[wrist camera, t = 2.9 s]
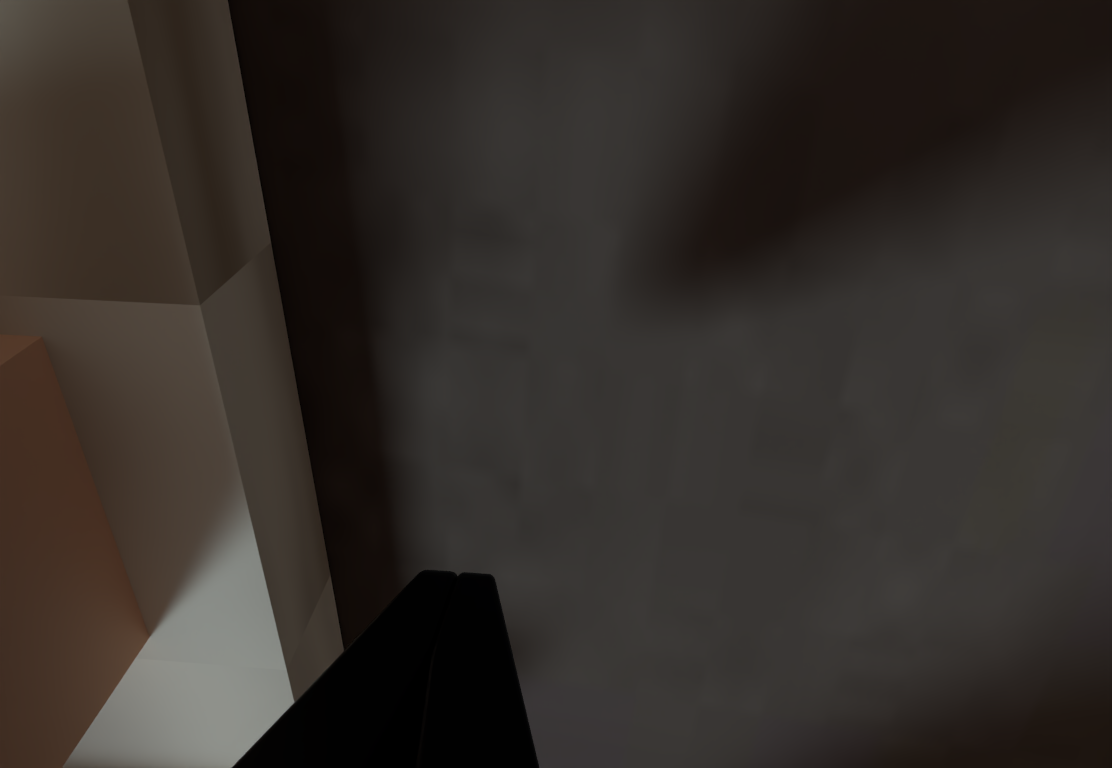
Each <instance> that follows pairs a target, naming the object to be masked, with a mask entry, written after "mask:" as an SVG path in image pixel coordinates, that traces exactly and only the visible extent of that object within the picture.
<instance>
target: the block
mask: <svg viewBox="0 0 1112 768" xmlns="http://www.w3.org/2000/svg"><path fill="white" fill-rule="evenodd" d="M149 638H150V637H149V634H148V631H147V628H146V626H145V623H144V620H143V617H142V614H141V612H140V609H139V606H138V603H137V600H136V598H135V595H134V592H133V589H132V587H131V584H130V581H129V578H128V575H127V573H126V570H125V567H124V564H123V561H122V559H121V556H120V553H119V550H118V548H117V545H116V542H115V539H114V536H113V534H112V531H111V528H110V525H109V522H108V520H107V517H106V514H105V511H104V509H103V506H102V503H101V500H100V497H99V495H98V492H97V489H96V486H95V483H94V481H93V478H92V475H91V472H90V470H89V467H88V464H87V461H86V458H85V456H84V453H83V450H82V447H81V444H80V442H79V439H78V436H77V433H76V431H75V428H74V425H73V422H72V419H71V417H70V414H69V411H68V408H67V405H66V403H65V400H64V397H63V394H62V391H61V389H60V386H59V383H58V380H57V378H56V375H55V372H54V369H53V366H52V364H51V361H50V358H49V355H48V352H47V350H46V347H45V344H44V341H43V339H42V337H41V336H22V335H3V334H0V768H62V767H63V766H64V764H65V763H66V761H67V760H68V758H69V757H70V755H71V754H72V752H73V751H74V749H75V748H76V746H77V745H78V743H79V742H80V740H81V739H82V737H83V736H84V734H85V733H86V731H87V730H88V728H89V727H90V725H91V724H92V722H93V721H94V719H95V718H96V716H97V715H98V713H99V712H100V710H101V709H102V707H103V706H104V704H105V703H106V702H107V700H108V699H109V697H110V696H111V694H112V693H113V691H114V690H115V688H116V687H117V685H118V684H119V682H120V681H121V679H122V678H123V676H124V675H125V673H126V672H127V670H128V669H129V667H130V666H131V664H132V663H133V661H134V660H135V658H136V657H137V655H138V654H139V652H140V651H141V649H142V648H143V646H144V645H145V643H146V642H147V640H148V639H149Z"/></svg>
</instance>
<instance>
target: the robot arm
mask: <svg viewBox="0 0 1112 768" xmlns="http://www.w3.org/2000/svg"><path fill="white" fill-rule="evenodd" d="M232 768H539V764H538V760H537V756H536V752H535V747H534V743H533V739H532V735H531V730H530V726H529V722H528V718H527V713H526V709H525V705H524V701H523V696H522V692H521V688H520V684H519V679H518V675H517V671H516V667H515V662H514V658H513V654H512V650H511V645H510V641H509V637H508V633H507V628H506V624H505V620H504V616H503V611H502V607H501V603H500V599H499V594H498V590H497V586H496V582H495V578H494V577H493V576H492V575H491V574H481V573H467V572H464V573H461V574H460V575H459V576H457V574H455V573H454V572H451V571H437V570H424V571H422V572H420V573H419V574H418V575H417V576H416V577H415V578H414V579H413V580H412V581H411V582H410V583H409V584H408V585H407V586H406V587H405V588H404V589H403V590H402V591H401V592H400V593H399V594H398V595H397V596H396V597H395V598H394V599H393V600H392V601H391V603H390V604H389V605H388V606H387V607H386V608H385V609H384V610H383V611H382V612H381V613H380V614H379V615H378V616H377V617H376V618H375V619H374V620H373V621H372V622H371V623H370V624H369V625H368V626H367V627H366V628H365V630H364V631H363V632H362V633H361V634H360V635H359V636H358V637H357V638H356V639H355V640H354V641H353V642H352V643H351V644H350V645H349V646H348V647H347V648H346V649H345V650H344V651H343V652H342V653H341V654H340V655H339V657H338V658H337V659H336V660H335V661H334V662H333V663H332V664H331V665H330V666H329V667H328V668H327V669H326V670H325V671H324V672H323V673H322V674H321V675H320V676H319V677H318V678H317V679H316V680H315V681H314V682H313V684H312V685H311V686H310V687H309V688H308V689H307V690H306V691H305V692H304V693H303V694H302V695H301V696H300V697H299V698H298V699H297V700H296V701H295V702H294V703H293V704H292V705H291V706H290V707H289V708H288V709H287V711H286V712H285V713H284V714H283V715H282V716H281V717H280V718H279V719H278V720H277V721H276V722H275V723H274V724H273V725H272V726H271V727H270V728H269V729H268V730H267V731H266V732H265V733H264V734H263V735H262V737H261V738H260V739H259V740H258V741H257V742H256V743H255V744H254V745H253V746H252V747H251V748H250V749H249V750H248V751H247V752H246V753H245V754H244V755H243V756H242V757H241V758H240V759H239V760H238V761H237V762H236V764H235V765H234V766H233V767H232Z"/></svg>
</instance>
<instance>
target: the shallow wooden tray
mask: <svg viewBox="0 0 1112 768" xmlns="http://www.w3.org/2000/svg"><path fill="white" fill-rule="evenodd" d="M0 334H3V335H22V336H41V337H42V339H43V341H44V344H45V347H46V350H47V352H48V355H49V358H50V361H51V364H52V366H53V369H54V372H55V375H56V378H57V380H58V383H59V386H60V389H61V391H62V394H63V397H64V400H65V403H66V405H67V408H68V411H69V414H70V417H71V419H72V422H73V425H74V428H75V431H76V433H77V436H78V439H79V442H80V444H81V447H82V450H83V453H84V456H85V458H86V461H87V464H88V467H89V470H90V472H91V475H92V478H93V481H94V483H95V486H96V489H97V492H98V495H99V497H100V500H101V503H102V506H103V509H104V511H105V514H106V517H107V520H108V522H109V525H110V528H111V531H112V534H113V536H114V539H115V542H116V545H117V548H118V550H119V553H120V556H121V559H122V561H123V564H124V567H125V570H126V573H127V575H128V578H129V581H130V584H131V587H132V589H133V592H134V595H135V598H136V600H137V603H138V606H139V609H140V612H141V614H142V617H143V620H144V623H145V626H146V628H147V631H148V634H149V637H150V638H149V639H148V640H147V642H146V643H145V645H144V646H143V648H142V649H141V651H140V652H139V654H138V655H137V657H136V658H135V660H134V661H133V663H132V664H131V666H130V667H129V669H128V670H127V672H126V673H125V675H124V676H123V678H122V679H121V681H120V682H119V684H118V685H117V687H116V688H115V690H114V691H113V693H112V694H111V696H110V697H109V699H108V700H107V702H106V703H105V704H104V706H103V707H102V709H101V710H100V712H99V713H98V715H97V716H96V718H95V719H94V721H93V722H92V724H91V725H90V727H89V728H88V730H87V731H86V733H85V734H84V736H83V737H82V739H81V740H80V742H79V743H78V745H77V746H76V748H75V749H74V751H73V752H72V754H71V755H70V757H69V758H68V760H67V761H66V763H65V764H64V766H63V767H62V768H232V767H233V766H234V765H235V764H236V762H237V761H238V760H239V759H240V758H241V757H242V756H243V755H244V754H245V753H246V752H247V751H248V750H249V749H250V748H251V747H252V746H253V745H254V744H255V743H256V742H257V741H258V740H259V739H260V738H261V737H262V735H263V734H264V733H265V732H266V731H267V730H268V729H269V728H270V727H271V726H272V725H273V724H274V723H275V722H276V721H277V720H278V719H279V718H280V717H281V716H282V715H283V714H284V713H285V712H286V711H287V709H288V708H289V707H290V706H291V705H292V704H293V703H294V702H295V701H296V700H297V699H298V698H299V697H300V696H301V695H302V694H303V693H304V692H305V691H306V690H307V689H308V688H309V687H310V686H311V685H312V684H313V682H314V681H315V680H316V679H317V678H318V677H319V676H320V675H321V674H322V673H323V672H324V671H325V670H326V669H327V668H328V667H329V666H330V665H331V664H332V663H333V662H334V661H335V660H336V659H337V658H338V657H339V655H340V654H341V653H342V652H343V651H344V648H343V642H342V637H341V631H340V626H339V620H338V614H337V609H336V603H335V598H334V592H333V586H332V581H331V575H330V570H329V564H328V558H327V553H326V547H325V542H324V536H323V530H322V525H321V519H320V514H319V508H318V502H317V497H316V491H315V486H314V480H313V474H312V469H311V463H310V458H309V452H308V446H307V441H306V435H305V430H304V424H303V419H302V413H301V407H300V402H299V396H298V391H297V385H296V379H295V374H294V368H293V363H292V357H291V351H290V346H289V340H288V335H287V329H286V323H285V318H284V312H283V307H282V301H281V295H280V290H279V284H278V279H277V273H276V267H275V262H274V256H273V251H272V245H271V239H270V234H269V228H268V223H267V217H266V211H265V206H264V200H263V195H262V189H261V184H260V178H259V172H258V167H257V161H256V156H255V150H254V144H253V139H252V133H251V128H250V122H249V116H248V111H247V105H246V100H245V94H244V88H243V83H242V77H241V72H240V66H239V60H238V55H237V49H236V44H235V38H234V32H233V27H232V21H231V16H230V10H229V4H228V0H0Z"/></svg>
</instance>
